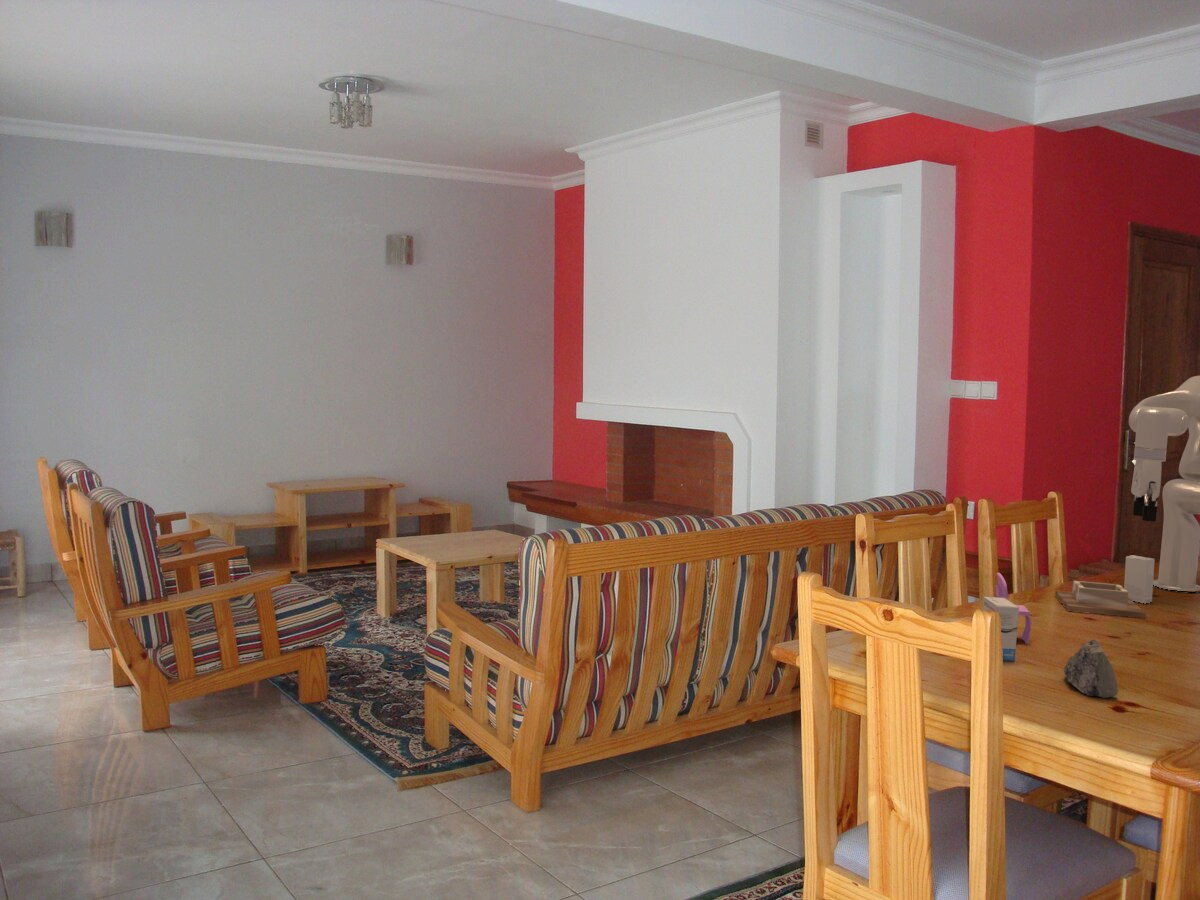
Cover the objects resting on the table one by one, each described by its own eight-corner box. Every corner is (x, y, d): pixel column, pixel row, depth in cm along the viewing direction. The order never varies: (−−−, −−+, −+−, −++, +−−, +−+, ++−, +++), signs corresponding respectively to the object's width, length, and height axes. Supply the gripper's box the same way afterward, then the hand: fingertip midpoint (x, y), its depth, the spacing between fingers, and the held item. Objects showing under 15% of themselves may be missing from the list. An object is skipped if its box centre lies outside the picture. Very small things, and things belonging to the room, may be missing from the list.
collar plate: (1055, 596, 281) (1056, 576, 281) (1127, 602, 277) (1129, 582, 276) (1067, 611, 264) (1069, 590, 263) (1145, 618, 259) (1147, 597, 259)
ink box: (1015, 661, 217) (1020, 606, 216) (992, 660, 217) (996, 605, 216) (1000, 650, 225) (1005, 597, 224) (978, 648, 225) (982, 596, 224)
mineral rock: (1065, 674, 209) (1070, 626, 208) (1124, 685, 203) (1129, 635, 202) (1053, 690, 199) (1058, 639, 198) (1115, 702, 193) (1120, 650, 192)
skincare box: (1152, 602, 278) (1156, 558, 277) (1145, 604, 275) (1149, 560, 274) (1128, 598, 283) (1132, 554, 282) (1121, 600, 280) (1125, 555, 279)
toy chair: (1031, 646, 230) (1036, 579, 228) (989, 642, 231) (994, 576, 230) (1023, 636, 238) (1029, 572, 236) (983, 632, 240) (988, 569, 238)
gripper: (1126, 451, 284) (1121, 512, 286) (1142, 456, 268) (1136, 521, 269) (1156, 453, 282) (1150, 515, 284) (1174, 458, 266) (1168, 524, 267)
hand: (1143, 518), depth 277 cm, fingers open, 9 cm apart
